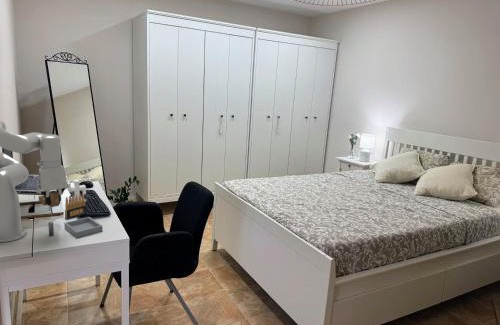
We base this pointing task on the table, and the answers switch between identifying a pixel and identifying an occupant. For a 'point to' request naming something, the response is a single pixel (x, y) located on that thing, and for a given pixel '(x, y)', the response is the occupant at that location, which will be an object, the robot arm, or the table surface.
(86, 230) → the tray
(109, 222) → the table surface
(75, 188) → the figurine
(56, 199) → the wooden block toy
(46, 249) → the table surface
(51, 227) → the stake
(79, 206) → the ammunition clip
